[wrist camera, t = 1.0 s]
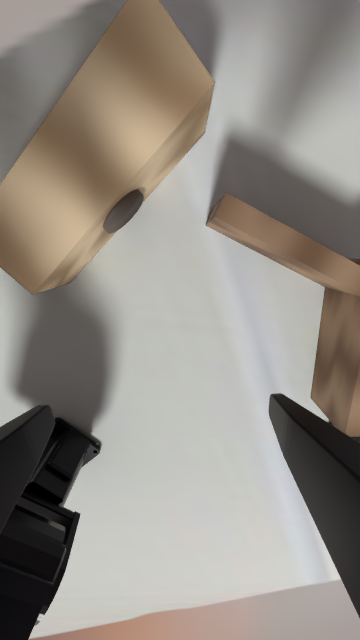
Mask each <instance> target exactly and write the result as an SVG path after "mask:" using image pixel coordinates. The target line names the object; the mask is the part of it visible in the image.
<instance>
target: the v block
mask: <svg viewBox="0 0 360 640" xmlns="http://www.w3.org/2000/svg"><path fill="white" fill-rule="evenodd" d="M206 226H208V227H210V228H212V229H214V230H216V231H218V232H219V233H221V234H223V235H225V236H227V237H229V238H231V239H233V240H235V241H237V242H239V243H241V244H243V245H245V246H247V247H249V248H250V249H252V250H254V251H256V252H258V253H260V254H262V255H264V256H266V257H268V258H270V259H272V260H274V261H276V262H278V263H280V264H281V265H283V266H285V267H287V268H289V269H291V270H293V271H295V272H297V273H299V274H301V275H303V276H305V277H307V278H309V279H311V280H312V281H314V282H316V283H318V284H320V285H322V286H324V287H325V293H324V301H323V308H322V316H321V323H320V331H319V339H318V346H317V354H316V361H315V369H314V377H313V384H312V392H311V399H312V400H313V401H314V402H315V404H316V405H317V406H318V407H319V408H320V409H321V411H322V412H323V413H324V414H325V415H326V416H327V418H328V419H329V420H330V421H331V422H332V423H333V424H334V426H335V427H336V428H337V429H339V430H340V431H342V432H343V433H345V434H347V435H348V436H350V437H359V436H360V259H347V258H345V257H343V256H341V255H339V254H338V253H336V252H334V251H332V250H330V249H328V248H327V247H325V246H323V245H321V244H319V243H318V242H316V241H314V240H312V239H310V238H308V237H307V236H305V235H303V234H301V233H299V232H297V231H296V230H294V229H292V228H290V227H288V226H286V225H285V224H283V223H281V222H279V221H277V220H275V219H274V218H272V217H270V216H268V215H266V214H264V213H263V212H261V211H259V210H257V209H255V208H253V207H252V206H250V205H248V204H246V203H244V202H242V201H241V200H239V199H237V198H235V197H233V196H231V195H230V194H228V193H225V195H224V196H223V197H222V198H221V200H220V201H219V202H218V203H217V205H216V206H215V207H214V209H213V211H212V213H211V215H210V217H209V219H208V222H207V224H206Z"/></svg>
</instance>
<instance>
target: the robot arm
mask: <svg viewBox="0 0 360 640" xmlns="http://www.w3.org/2000/svg"><path fill="white" fill-rule="evenodd" d="M269 416H270V419H271V422H272V425H273V428H274V430H275V433H276V436H277V439H278V442H279V445H280V447H281V450H282V453H283V456H284V458H285V460H286V462H287V464H288V467H289V469H290V471H291V473H292V475H293V477H294V479H295V482H296V484H297V486H298V488H299V490H300V492H301V494H302V496H303V499H304V501H305V503H306V505H307V507H308V509H309V511H310V513H311V516H312V518H313V520H314V522H315V524H316V526H317V528H318V530H319V533H320V535H321V537H322V539H323V541H324V543H325V545H326V547H327V550H328V552H329V554H330V556H331V558H332V560H333V562H334V564H335V567H336V569H337V571H338V573H339V575H340V577H341V579H342V581H343V584H344V586H345V588H346V590H347V592H348V594H349V596H350V598H351V601H352V603H353V605H354V607H355V609H356V611H357V613H358V615H359V618H360V443H359V442H358V441H356V440H355V439H353V438H351V437H350V436H348V435H347V434H345V433H343V432H342V431H340V430H339V429H337V428H336V427H334V426H332V425H331V424H329V423H328V422H326V421H324V420H323V419H321V418H320V417H318V416H316V415H315V414H313V413H312V412H310V411H309V410H307V409H305V408H304V407H302V406H301V405H299V404H297V403H296V402H294V401H293V400H291V399H289V398H288V397H286V396H285V395H283V394H280V393H279V394H271V395H270V401H269ZM100 450H101V448H100V447H99V446H98V445H96V444H95V443H94V442H92V441H91V440H89V439H88V438H87V437H85V436H84V435H83V434H81V433H80V432H78V431H77V430H76V429H74V428H73V427H71V426H70V425H69V424H67V423H66V422H65V421H63V420H62V419H60V418H56V419H54V416H53V413H52V410H51V407H50V406H49V405H38V406H36V407H34V408H32V409H31V410H29V411H27V412H26V413H24V414H22V415H20V416H19V417H17V418H15V419H13V420H12V421H10V422H8V423H6V424H5V425H3V426H1V427H0V640H28V638H29V636H30V634H31V631H32V629H33V627H34V626H35V625H37V624H38V623H39V622H40V621H41V619H42V618H43V616H44V615H45V613H46V612H47V610H48V608H49V606H50V604H51V602H52V601H53V599H54V596H55V594H56V592H57V590H58V588H59V585H60V583H61V581H62V578H63V575H64V573H65V570H66V566H67V563H68V559H69V555H70V552H71V548H72V544H73V540H74V536H75V533H76V529H77V525H78V521H79V518H80V513H78V512H76V511H75V512H73V511H70V510H68V509H66V508H64V507H63V506H64V504H65V502H66V500H67V497H68V495H69V493H70V491H71V489H72V486H73V484H74V482H75V480H76V478H77V475H78V473H79V471H80V469H81V467H83V466H84V465H85V464H86V463H88V462H89V461H90V460H92V459H93V458H94V457H95V456H97V455H98V454H99V453H100Z"/></svg>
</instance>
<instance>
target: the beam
mask: <svg viewBox="0 0 360 640" xmlns="http://www.w3.org/2000/svg"><path fill="white" fill-rule="evenodd" d="M214 84H215V81H214V80H213V79H212V77H211V76H210V74H209V73H208V71H207V70H206V68H205V67H204V65H203V64H202V62H201V61H200V59H199V58H198V56H197V55H196V53H195V52H194V50H193V49H192V47H191V46H190V45H189V43H188V42H187V40H186V39H185V37H184V36H183V34H182V33H181V31H180V30H179V28H178V27H177V25H176V24H175V22H174V21H173V19H172V18H171V16H170V15H169V14H168V12H167V11H166V9H165V8H164V6H163V5H162V3H161V2H160V0H127V1H126V3H125V4H124V6H123V7H122V9H121V10H120V11H119V13H118V14H117V16H116V17H115V19H114V20H113V22H112V23H111V25H110V26H109V27H108V29H107V30H106V32H105V33H104V35H103V36H102V38H101V39H100V41H99V42H98V43H97V45H96V46H95V48H94V49H93V51H92V52H91V54H90V55H89V56H88V58H87V59H86V61H85V62H84V64H83V65H82V67H81V68H80V70H79V71H78V72H77V74H76V75H75V77H74V78H73V80H72V81H71V83H70V84H69V86H68V87H67V88H66V90H65V91H64V93H63V94H62V96H61V97H60V99H59V100H58V101H57V103H56V104H55V106H54V107H53V109H52V110H51V112H50V113H49V115H48V116H47V117H46V119H45V120H44V122H43V123H42V125H41V126H40V128H39V129H38V131H37V132H36V133H35V135H34V136H33V138H32V139H31V141H30V142H29V144H28V145H27V146H26V148H25V149H24V151H23V152H22V154H21V155H20V157H19V158H18V160H17V161H16V162H15V164H14V165H13V167H12V168H11V170H10V171H9V173H8V174H7V175H6V177H5V178H4V180H3V181H2V183H1V184H0V267H1V268H2V269H3V270H4V271H5V272H6V273H8V274H9V275H10V276H11V277H12V278H13V279H15V280H16V281H17V282H18V283H19V284H20V285H22V286H23V287H24V288H25V289H26V290H27V291H29V292H30V293H31V294H32V295H33V294H37V293H40V292H43V291H46V290H49V289H53V288H56V287H59V286H62V285H65V284H69V283H70V282H71V281H72V280H73V279H74V278H75V277H76V276H77V274H78V273H79V272H80V271H81V270H82V269H83V268H84V267H85V266H86V264H87V263H88V262H89V261H90V260H91V259H92V258H93V257H94V256H95V254H96V253H97V252H98V251H99V250H100V249H101V248H102V247H103V246H104V244H105V243H106V242H107V241H108V240H109V239H110V238H111V237H112V236H113V234H114V233H115V232H116V231H117V230H119V229H120V228H122V227H123V226H124V225H125V224H126V223H127V222H128V221H129V220H130V219H131V218H132V217H133V216H134V215H135V213H136V212H137V211H138V209H139V208H140V206H141V204H142V202H143V201H144V200H145V199H146V198H147V197H148V196H149V194H150V193H151V192H152V191H153V190H154V189H155V188H156V187H157V186H158V184H159V183H160V182H161V181H162V180H163V179H164V178H165V177H166V176H167V174H168V173H169V172H170V171H171V170H172V169H173V168H174V167H175V166H176V164H177V163H178V162H179V161H180V160H181V159H182V158H183V157H184V156H185V154H186V153H187V152H188V151H189V150H190V149H191V148H192V147H193V146H194V144H195V143H196V142H197V141H198V140H199V139H200V138H201V137H202V136H203V134H204V133H205V129H206V124H207V119H208V114H209V109H210V104H211V99H212V94H213V89H214Z"/></svg>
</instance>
